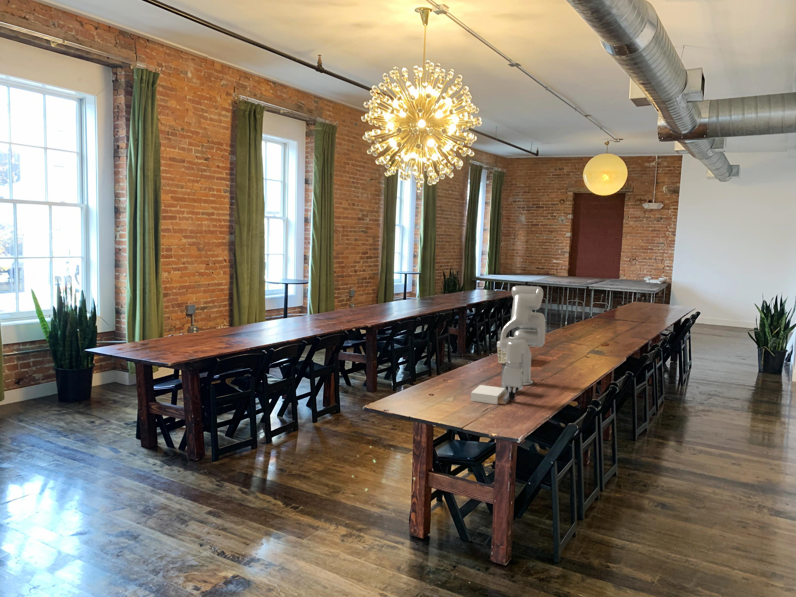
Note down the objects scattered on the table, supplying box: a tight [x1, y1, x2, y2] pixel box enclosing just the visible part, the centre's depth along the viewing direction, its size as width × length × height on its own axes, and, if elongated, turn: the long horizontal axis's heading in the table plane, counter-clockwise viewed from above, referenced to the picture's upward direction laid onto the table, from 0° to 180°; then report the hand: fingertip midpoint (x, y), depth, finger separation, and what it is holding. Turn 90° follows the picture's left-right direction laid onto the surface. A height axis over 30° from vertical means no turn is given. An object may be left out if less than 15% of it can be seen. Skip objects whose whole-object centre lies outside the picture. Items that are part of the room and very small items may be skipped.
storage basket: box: [496, 336, 531, 364], centre depth 399 cm, size 24×16×15 cm
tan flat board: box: [498, 393, 511, 405], centre depth 307 cm, size 11×17×3 cm, turn 66°
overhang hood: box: [470, 384, 506, 405], centre depth 309 cm, size 17×14×4 cm
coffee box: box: [500, 363, 519, 394], centre depth 322 cm, size 9×6×16 cm
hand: (511, 399), depth 303 cm, fingers closed
